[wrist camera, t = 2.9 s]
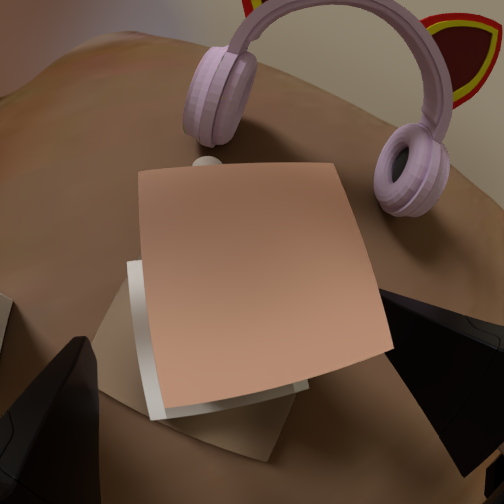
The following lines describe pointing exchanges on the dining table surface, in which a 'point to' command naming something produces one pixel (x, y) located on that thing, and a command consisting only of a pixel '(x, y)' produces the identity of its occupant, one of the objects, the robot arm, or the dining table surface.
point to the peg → (253, 278)
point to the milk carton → (4, 314)
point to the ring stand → (148, 389)
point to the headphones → (404, 138)
